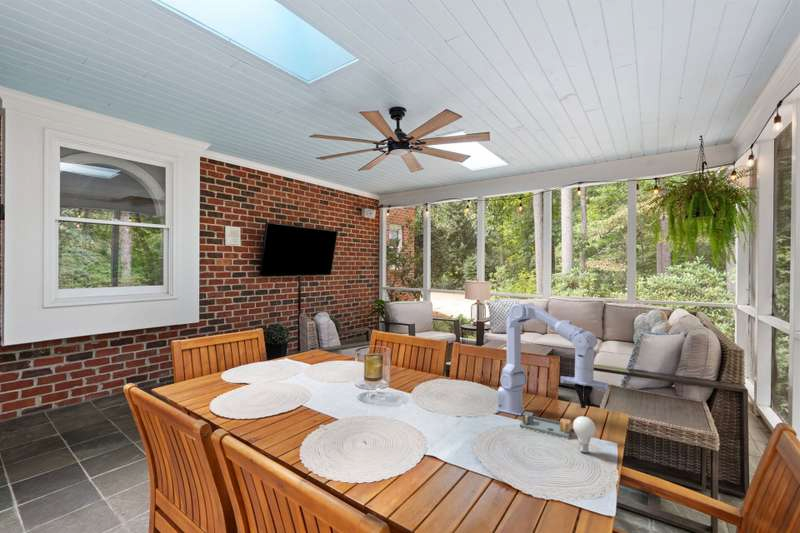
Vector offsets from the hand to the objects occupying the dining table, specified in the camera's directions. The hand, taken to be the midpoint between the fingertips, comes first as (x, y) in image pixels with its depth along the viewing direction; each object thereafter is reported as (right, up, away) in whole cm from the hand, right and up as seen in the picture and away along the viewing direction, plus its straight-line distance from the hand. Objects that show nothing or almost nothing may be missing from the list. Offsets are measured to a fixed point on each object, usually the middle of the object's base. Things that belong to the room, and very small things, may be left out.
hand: (583, 407), depth 124 cm
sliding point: (-5, -9, +2) cm, 10 cm away
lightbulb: (-5, -10, -10) cm, 15 cm away
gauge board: (-10, -10, +7) cm, 16 cm away
